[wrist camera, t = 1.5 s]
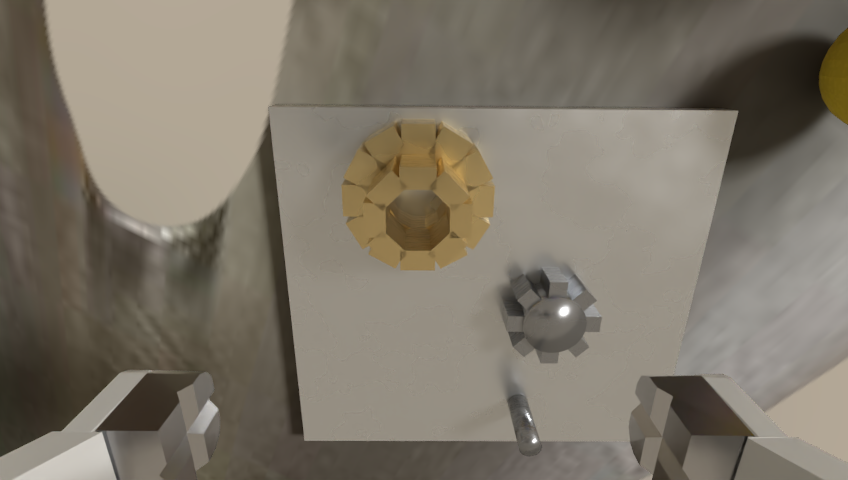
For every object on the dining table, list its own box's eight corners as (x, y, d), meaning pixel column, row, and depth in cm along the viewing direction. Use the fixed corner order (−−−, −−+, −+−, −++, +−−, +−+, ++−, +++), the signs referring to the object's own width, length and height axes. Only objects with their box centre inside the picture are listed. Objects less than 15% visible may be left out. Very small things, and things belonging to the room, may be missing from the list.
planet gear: (351, 255, 24) (336, 297, 20) (344, 118, 22) (325, 132, 17) (484, 256, 24) (498, 298, 20) (493, 119, 22) (510, 133, 18)
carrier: (308, 426, 30) (289, 489, 26) (275, 104, 23) (241, 114, 18) (648, 427, 30) (687, 489, 26) (723, 108, 23) (794, 119, 18)
